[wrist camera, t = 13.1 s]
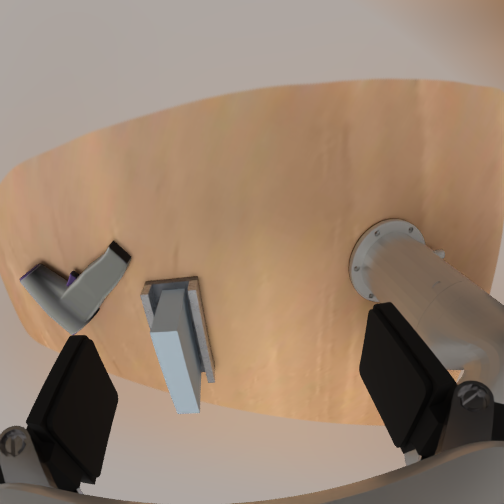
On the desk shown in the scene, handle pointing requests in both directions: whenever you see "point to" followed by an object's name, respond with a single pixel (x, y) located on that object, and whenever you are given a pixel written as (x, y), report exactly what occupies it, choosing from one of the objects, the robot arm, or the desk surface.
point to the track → (193, 295)
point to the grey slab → (177, 350)
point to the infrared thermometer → (77, 288)
